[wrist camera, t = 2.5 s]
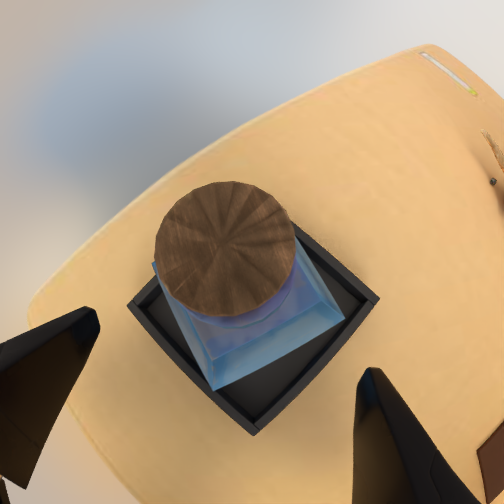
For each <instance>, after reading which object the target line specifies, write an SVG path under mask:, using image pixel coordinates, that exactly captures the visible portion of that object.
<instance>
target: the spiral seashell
mask: <svg viewBox="0 0 504 504" xmlns="http://www.w3.org/2000/svg"><path fill="white" fill-rule="evenodd" d="M481 132H482V134H483V135H484V137H485V138H486V140H487V141H488V143H489V144H490V146H491V147H492V150H493V152H494V154H495V157H496V159H497V161H498V163H499V165H500V167H501V169H502V170H503V172H504V156H503V154H502V152H501V150H500V149H499V147H498V145H497V144H496V142H495V141H494V140H493V139H492V138H491V136H490V135H489V134H488V133H487V132H486V131H485V130H483V129H482V130H481ZM490 183H491V184H493V185H495V183H496V179H494V178H492V179H491V182H490Z"/></svg>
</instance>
